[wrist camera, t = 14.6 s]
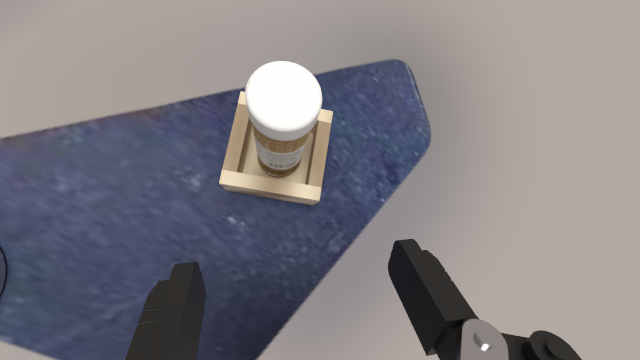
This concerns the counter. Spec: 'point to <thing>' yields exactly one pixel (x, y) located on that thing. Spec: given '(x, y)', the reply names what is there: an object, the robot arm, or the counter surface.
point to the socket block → (251, 179)
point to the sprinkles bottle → (282, 114)
